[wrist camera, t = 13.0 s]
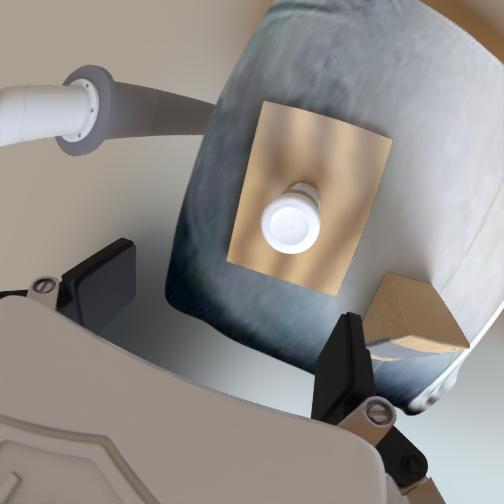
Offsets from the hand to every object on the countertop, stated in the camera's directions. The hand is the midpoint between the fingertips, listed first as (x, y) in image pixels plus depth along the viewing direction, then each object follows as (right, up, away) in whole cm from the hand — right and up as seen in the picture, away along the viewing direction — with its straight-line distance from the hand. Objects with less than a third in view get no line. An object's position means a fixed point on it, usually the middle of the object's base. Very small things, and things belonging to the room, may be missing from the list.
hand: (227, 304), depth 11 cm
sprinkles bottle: (+7, +9, +21) cm, 24 cm away
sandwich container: (+22, -8, +26) cm, 35 cm away
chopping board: (+8, +9, +23) cm, 26 cm away
